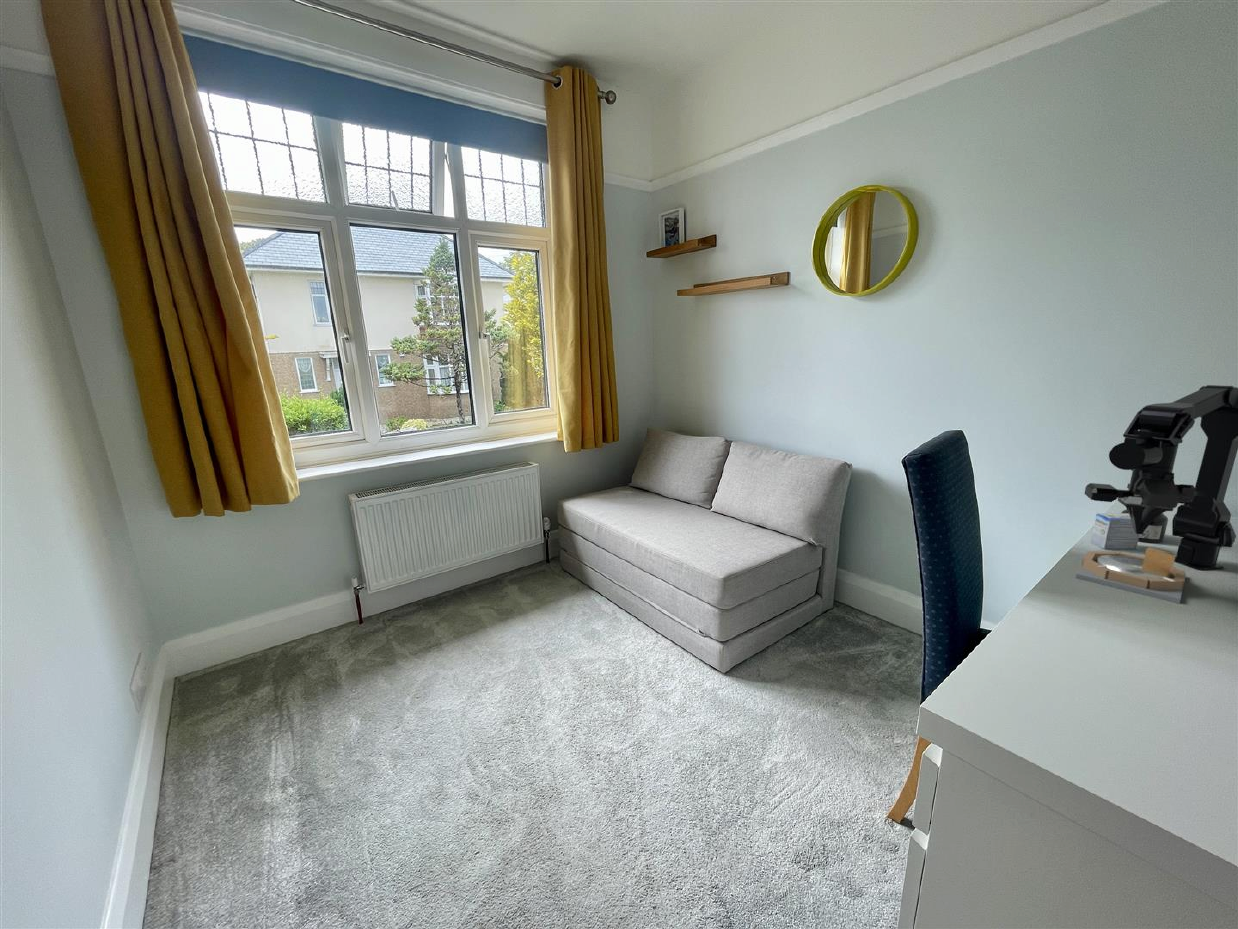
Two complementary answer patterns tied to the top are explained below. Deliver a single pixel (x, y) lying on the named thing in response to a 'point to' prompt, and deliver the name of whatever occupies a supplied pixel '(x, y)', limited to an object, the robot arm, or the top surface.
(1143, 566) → the dial
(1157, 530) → the ink bottle
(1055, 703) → the top surface
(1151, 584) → the dial plate
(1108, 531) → the medicine box
